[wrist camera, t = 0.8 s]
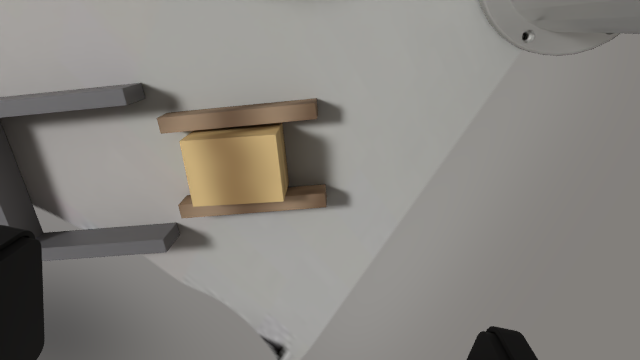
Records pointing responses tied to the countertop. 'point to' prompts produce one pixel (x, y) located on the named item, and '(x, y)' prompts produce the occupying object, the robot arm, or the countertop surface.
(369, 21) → the countertop surface
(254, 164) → the ochre block
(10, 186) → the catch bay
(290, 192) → the chute
